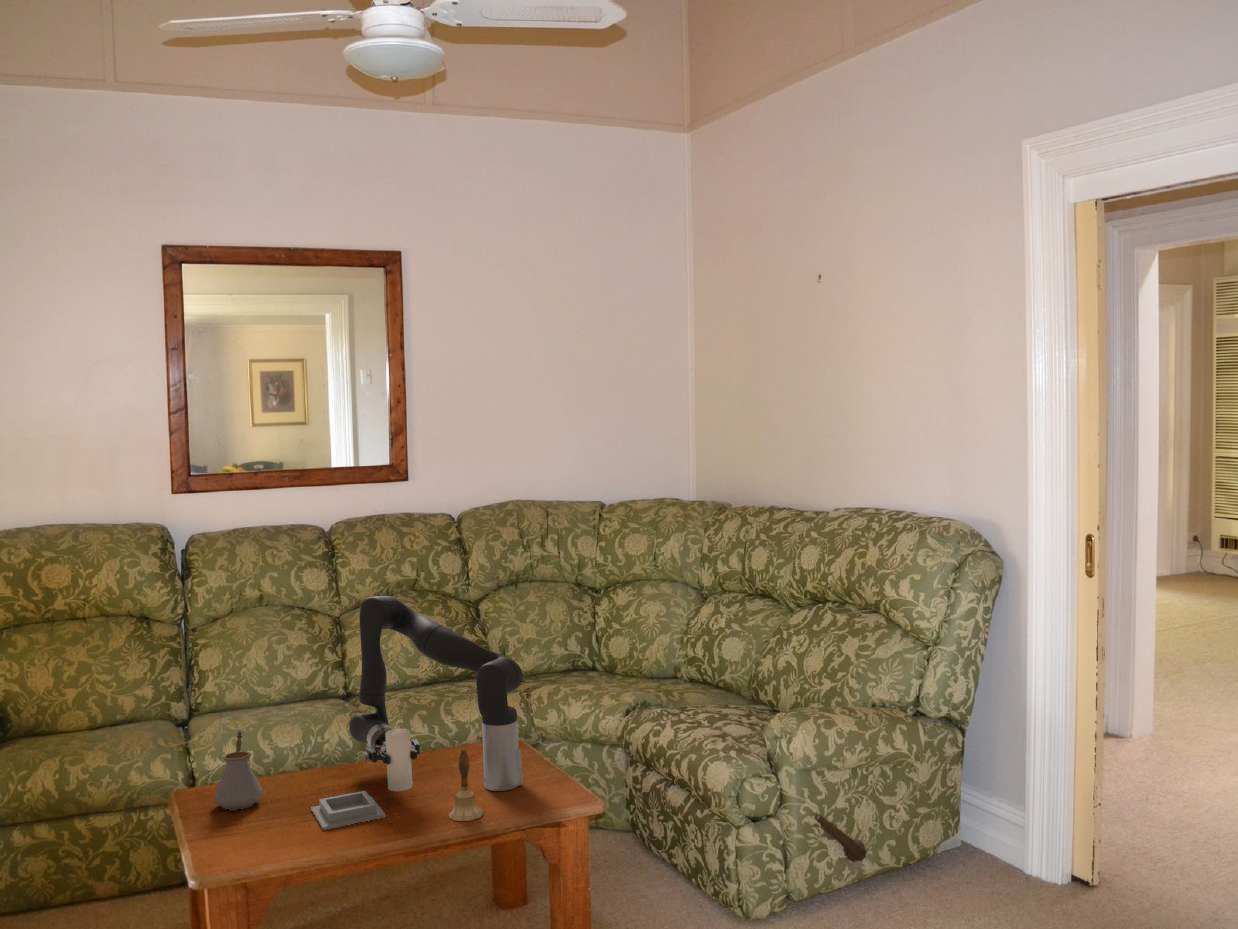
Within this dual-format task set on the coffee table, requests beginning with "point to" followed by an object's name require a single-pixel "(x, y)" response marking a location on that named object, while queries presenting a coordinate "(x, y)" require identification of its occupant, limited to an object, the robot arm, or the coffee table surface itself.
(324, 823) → the candle dish
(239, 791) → the coffee pot
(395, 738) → the candle
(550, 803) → the coffee table surface
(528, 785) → the coffee table surface
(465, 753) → the hand bell
